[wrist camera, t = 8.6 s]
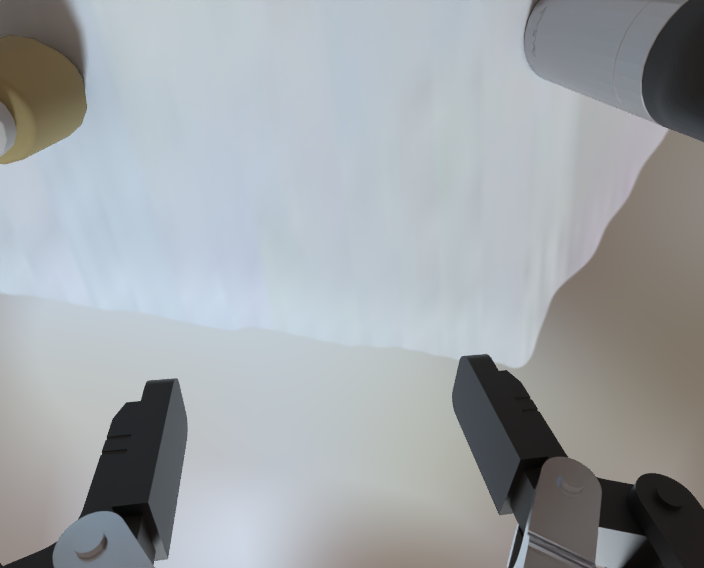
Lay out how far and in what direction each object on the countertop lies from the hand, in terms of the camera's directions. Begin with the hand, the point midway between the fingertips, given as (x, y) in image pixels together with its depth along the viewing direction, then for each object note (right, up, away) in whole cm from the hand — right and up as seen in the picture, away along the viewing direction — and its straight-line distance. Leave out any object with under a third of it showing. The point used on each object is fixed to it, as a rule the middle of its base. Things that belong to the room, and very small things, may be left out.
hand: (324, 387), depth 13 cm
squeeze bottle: (-26, +21, +28) cm, 43 cm away
